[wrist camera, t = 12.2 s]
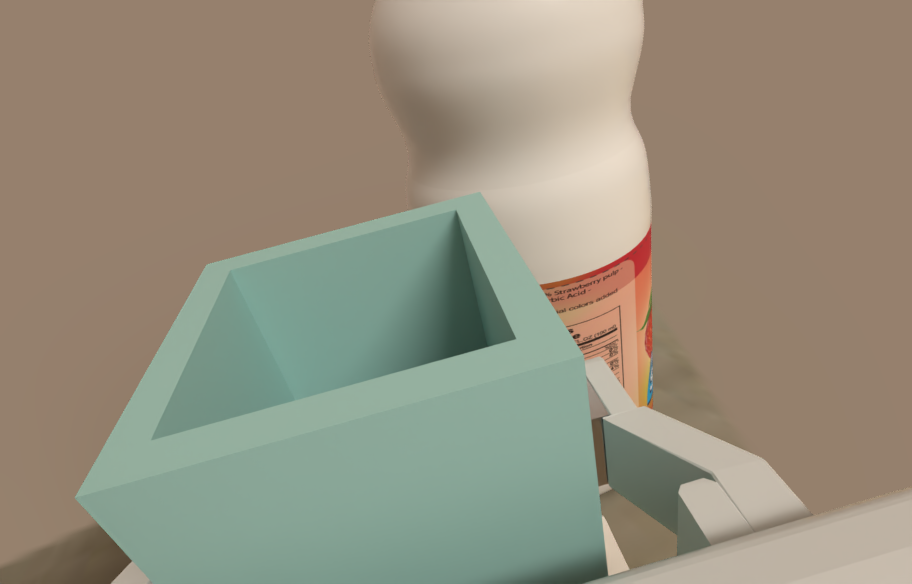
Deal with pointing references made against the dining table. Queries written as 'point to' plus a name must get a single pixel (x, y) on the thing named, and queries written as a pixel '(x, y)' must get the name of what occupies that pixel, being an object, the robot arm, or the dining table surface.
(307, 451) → the sleeve
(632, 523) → the dining table surface
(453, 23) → the fruit juice
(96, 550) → the dining table surface
